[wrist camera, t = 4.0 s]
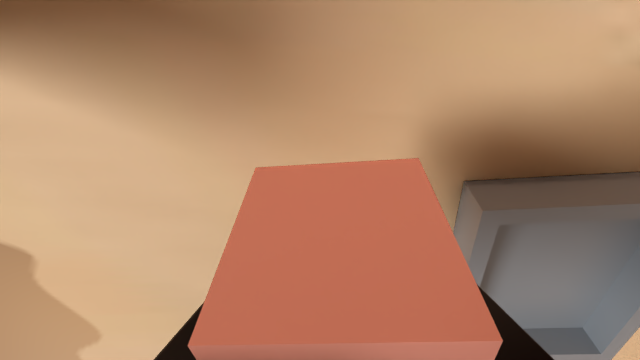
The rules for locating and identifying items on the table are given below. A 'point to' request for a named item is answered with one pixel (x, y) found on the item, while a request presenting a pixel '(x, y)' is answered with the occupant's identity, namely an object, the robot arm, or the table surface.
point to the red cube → (343, 272)
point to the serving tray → (558, 257)
